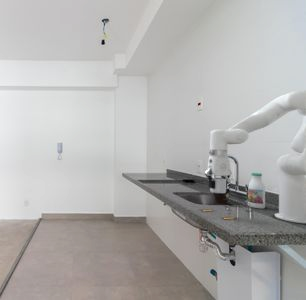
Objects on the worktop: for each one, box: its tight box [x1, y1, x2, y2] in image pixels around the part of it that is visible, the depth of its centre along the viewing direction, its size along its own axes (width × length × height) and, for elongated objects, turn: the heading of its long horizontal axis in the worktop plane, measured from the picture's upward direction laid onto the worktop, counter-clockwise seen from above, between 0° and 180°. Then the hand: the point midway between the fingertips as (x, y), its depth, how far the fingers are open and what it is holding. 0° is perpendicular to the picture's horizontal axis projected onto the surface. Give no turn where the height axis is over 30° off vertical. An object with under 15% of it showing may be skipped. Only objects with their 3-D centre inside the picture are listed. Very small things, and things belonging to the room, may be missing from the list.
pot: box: [209, 177, 226, 194], centre depth 107 cm, size 7×7×7 cm
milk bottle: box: [247, 172, 266, 209], centre depth 122 cm, size 8×8×20 cm
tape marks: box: [201, 209, 236, 220], centre depth 107 cm, size 6×14×1 cm, turn 13°
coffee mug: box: [213, 186, 231, 205], centre depth 130 cm, size 12×9×10 cm
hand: (217, 187), depth 107 cm, fingers closed on pot, 6 cm apart
